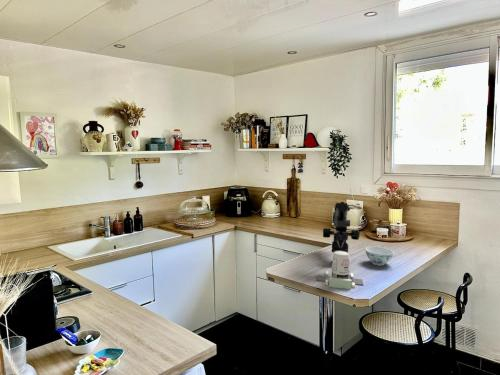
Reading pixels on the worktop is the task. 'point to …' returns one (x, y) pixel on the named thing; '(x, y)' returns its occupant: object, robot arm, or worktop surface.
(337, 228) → the robot arm
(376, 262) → the chinaware
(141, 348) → the worktop surface
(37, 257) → the worktop surface
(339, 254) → the supplement can
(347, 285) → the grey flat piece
